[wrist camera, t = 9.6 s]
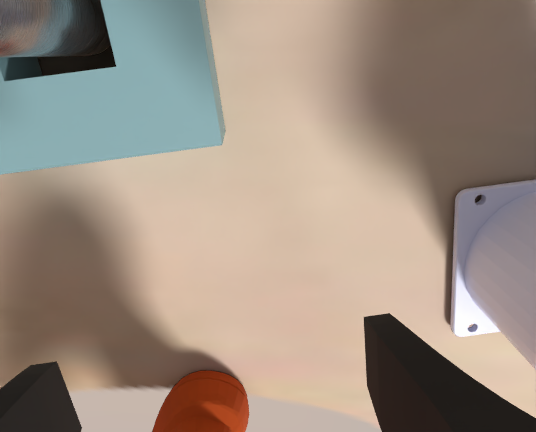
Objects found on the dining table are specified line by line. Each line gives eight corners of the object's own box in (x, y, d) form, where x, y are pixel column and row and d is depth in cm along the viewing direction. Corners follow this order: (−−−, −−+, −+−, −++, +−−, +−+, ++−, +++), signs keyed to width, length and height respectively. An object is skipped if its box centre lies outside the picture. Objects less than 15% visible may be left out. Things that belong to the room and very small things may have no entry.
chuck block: (179, -158, 15) (165, -207, 12) (225, 131, 18) (222, 145, 16) (-109, -121, 15) (-192, -161, 12) (-7, 161, 18) (-52, 181, 16)
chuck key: (44, -22, 16) (-233, -124, 7) (115, -15, 16) (-58, -106, 7) (51, 52, 17) (-185, 52, 8) (118, 58, 17) (-31, 64, 8)
